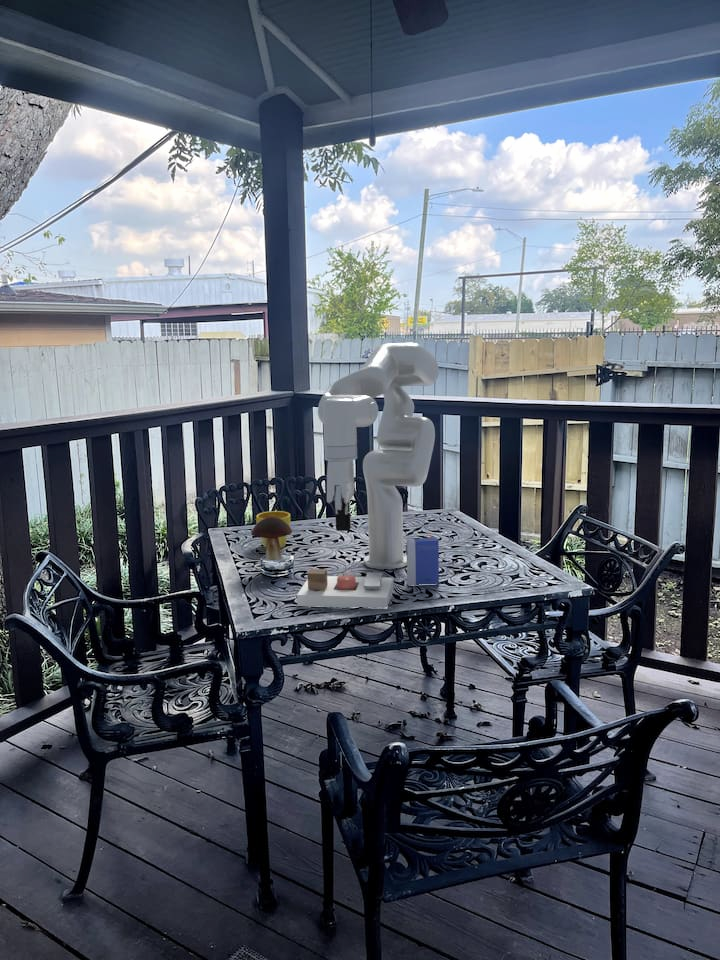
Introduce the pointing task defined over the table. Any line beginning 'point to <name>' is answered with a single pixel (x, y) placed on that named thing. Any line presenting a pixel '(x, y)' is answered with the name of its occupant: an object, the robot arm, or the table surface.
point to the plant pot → (279, 514)
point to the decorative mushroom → (272, 535)
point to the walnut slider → (317, 579)
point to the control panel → (347, 594)
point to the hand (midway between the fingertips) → (343, 529)
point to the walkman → (422, 561)
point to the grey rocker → (373, 580)
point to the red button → (346, 582)
